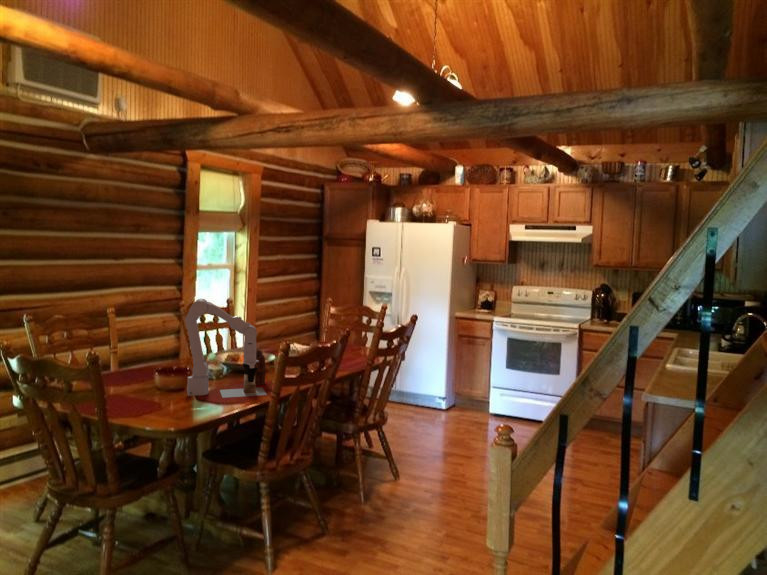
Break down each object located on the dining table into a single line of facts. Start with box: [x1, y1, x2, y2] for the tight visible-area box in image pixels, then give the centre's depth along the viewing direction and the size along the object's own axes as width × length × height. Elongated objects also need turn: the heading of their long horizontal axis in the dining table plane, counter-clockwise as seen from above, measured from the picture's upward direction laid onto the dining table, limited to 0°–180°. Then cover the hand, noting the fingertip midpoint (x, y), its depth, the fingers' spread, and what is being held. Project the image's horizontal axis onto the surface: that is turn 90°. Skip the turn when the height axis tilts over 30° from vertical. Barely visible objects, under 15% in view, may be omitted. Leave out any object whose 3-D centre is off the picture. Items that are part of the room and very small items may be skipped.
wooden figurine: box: [254, 347, 266, 386], centre depth 309 cm, size 12×6×18 cm, turn 63°
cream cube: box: [243, 373, 255, 385], centre depth 290 cm, size 4×4×4 cm
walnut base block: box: [242, 383, 257, 394], centre depth 291 cm, size 5×5×4 cm
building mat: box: [219, 387, 268, 399], centre depth 290 cm, size 20×14×1 cm
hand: (249, 380), depth 291 cm, fingers open, 7 cm apart
